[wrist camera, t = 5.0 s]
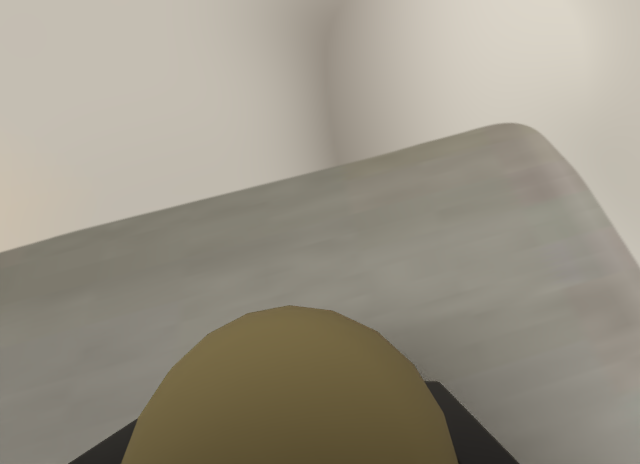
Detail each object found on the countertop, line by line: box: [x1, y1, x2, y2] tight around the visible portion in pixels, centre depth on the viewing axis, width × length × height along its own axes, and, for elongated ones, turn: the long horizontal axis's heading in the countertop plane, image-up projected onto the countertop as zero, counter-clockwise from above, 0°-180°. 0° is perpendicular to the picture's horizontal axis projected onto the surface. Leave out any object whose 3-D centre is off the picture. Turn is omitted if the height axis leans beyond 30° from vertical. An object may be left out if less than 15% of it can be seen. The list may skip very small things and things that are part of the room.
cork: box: [121, 305, 459, 464], centre depth 9 cm, size 6×6×11 cm
